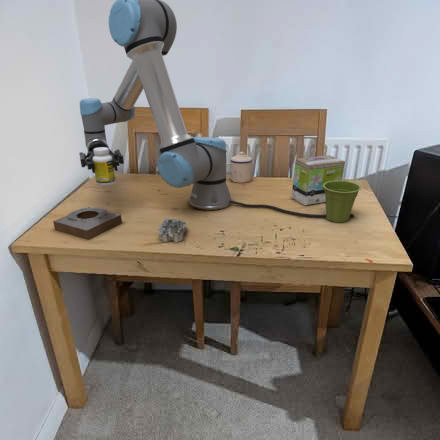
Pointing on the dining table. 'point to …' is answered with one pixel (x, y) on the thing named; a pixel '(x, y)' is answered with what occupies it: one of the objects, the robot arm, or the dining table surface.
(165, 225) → the egg carton
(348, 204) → the plant pot
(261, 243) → the dining table surface
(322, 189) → the tea box
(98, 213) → the bottle stand
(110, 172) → the pill bottle
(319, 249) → the dining table surface
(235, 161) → the teacup with lid
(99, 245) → the dining table surface
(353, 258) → the dining table surface
